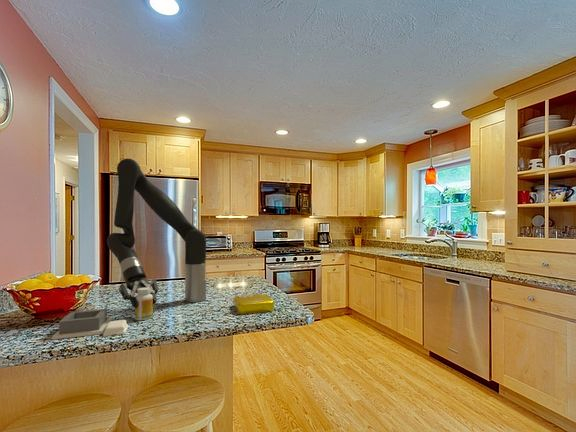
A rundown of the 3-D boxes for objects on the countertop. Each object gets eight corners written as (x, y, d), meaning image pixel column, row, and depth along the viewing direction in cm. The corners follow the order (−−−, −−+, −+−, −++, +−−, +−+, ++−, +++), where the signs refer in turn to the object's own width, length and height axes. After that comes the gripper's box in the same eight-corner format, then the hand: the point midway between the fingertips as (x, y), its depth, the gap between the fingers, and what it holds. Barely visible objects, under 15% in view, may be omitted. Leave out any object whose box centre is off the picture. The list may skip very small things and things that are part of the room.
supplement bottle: (155, 315, 118) (155, 286, 119) (148, 320, 112) (148, 290, 112) (139, 315, 118) (139, 286, 119) (131, 320, 112) (131, 290, 112)
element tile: (238, 315, 119) (238, 303, 119) (233, 305, 133) (233, 294, 133) (275, 311, 123) (275, 300, 123) (266, 302, 138) (266, 292, 138)
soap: (125, 334, 99) (125, 325, 99) (101, 337, 97) (101, 328, 97) (128, 326, 108) (128, 317, 108) (106, 328, 105) (106, 320, 105)
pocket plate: (111, 320, 112) (112, 307, 113) (103, 333, 99) (103, 318, 99) (67, 325, 108) (67, 311, 108) (51, 339, 94) (52, 323, 95)
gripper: (116, 267, 115) (129, 303, 107) (153, 262, 126) (167, 295, 118) (110, 279, 118) (123, 315, 110) (147, 274, 129) (160, 306, 121)
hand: (145, 304), depth 114 cm, fingers closed on supplement bottle, 6 cm apart
